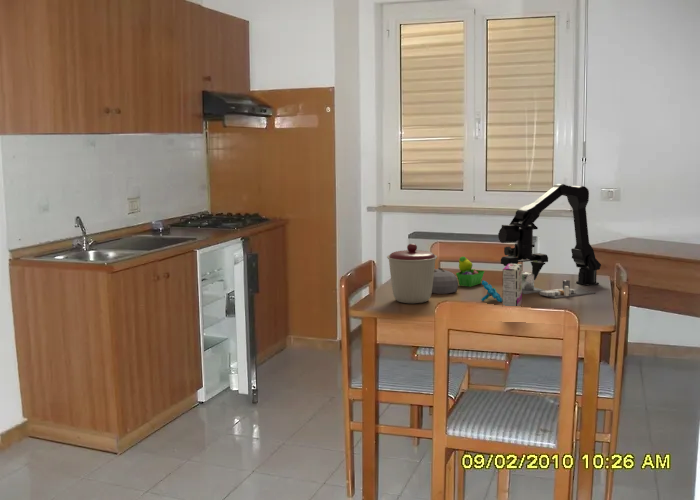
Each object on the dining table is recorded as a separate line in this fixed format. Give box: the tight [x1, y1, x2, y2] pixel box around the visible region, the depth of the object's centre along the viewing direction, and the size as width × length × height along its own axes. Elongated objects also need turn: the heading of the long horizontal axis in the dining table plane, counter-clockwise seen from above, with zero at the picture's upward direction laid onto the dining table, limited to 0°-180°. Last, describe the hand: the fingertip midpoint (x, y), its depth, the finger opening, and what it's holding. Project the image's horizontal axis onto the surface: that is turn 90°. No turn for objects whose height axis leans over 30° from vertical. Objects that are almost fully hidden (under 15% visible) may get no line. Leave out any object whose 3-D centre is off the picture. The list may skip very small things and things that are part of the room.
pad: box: [522, 286, 546, 295], centre depth 282 cm, size 10×13×1 cm
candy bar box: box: [502, 263, 523, 307], centre depth 239 cm, size 11×5×16 cm, turn 158°
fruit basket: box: [455, 256, 485, 288], centre depth 294 cm, size 11×9×11 cm
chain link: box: [522, 271, 535, 291], centre depth 281 cm, size 4×10×6 cm, turn 24°
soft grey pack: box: [431, 267, 459, 295], centre depth 284 cm, size 15×8×20 cm
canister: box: [386, 243, 438, 304], centre depth 263 cm, size 18×18×21 cm
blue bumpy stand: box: [480, 279, 503, 303], centre depth 263 cm, size 11×6×10 cm
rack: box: [539, 279, 576, 297], centre depth 270 cm, size 13×5×4 cm, turn 115°
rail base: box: [538, 286, 596, 299], centre depth 272 cm, size 19×9×4 cm, turn 115°
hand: (524, 281), depth 281 cm, fingers open, 9 cm apart
